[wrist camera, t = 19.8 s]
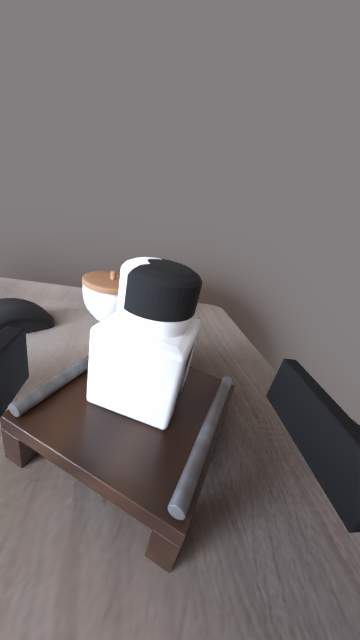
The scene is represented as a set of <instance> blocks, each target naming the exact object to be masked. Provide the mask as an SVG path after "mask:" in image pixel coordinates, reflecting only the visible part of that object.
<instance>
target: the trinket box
mask: <svg viewBox="0 0 360 640" xmlns="http://www.w3.org/2000/svg"><path fill="white" fill-rule="evenodd" d="M119 282H120V273H117V272H116V271H113V270H112V271H111V272H110V271H94V272H89V273H86V274H84V275H83V277H82V283H83V299H84V303H85V305H86V307H87V309H88V311H89V312H90V313H91V314H92V315H94V318H95V319H97V320H99V321H102V320H103V319H105V318H106V317H108V316H109V315H111V314H112V313H114V312H116V311H117V300H118V291H119Z"/></svg>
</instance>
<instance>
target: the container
mask: <svg viewBox="0 0 360 640" xmlns="http://www.w3.org/2000/svg"><path fill="white" fill-rule="evenodd" d="M201 286H202V280H201V278H200V276H199V275H198V274H197V273H196V272H194V271H193V270H192V269H191V268H189V267H187V266H185V265H182V264H180V263H177V262H173V261H170V260H165V259H160V258H153V257H138V258H135V259H131V260H128V261H126V262H125V263H124V264H123V265H122V266H121V272H120V282H119V291H118V300H117V311H116V312H114V313H112V314H111V315H109V316H108V317H106V318H105V319H103V320H102V321H100V322H99V323H97V324H96V325H94V326H93V327H92V328H91V330H90V345H89V362H88V380H87V397H86V398H87V401H89V402H91V403H93V404H96V405H99V406H101V407H104V408H106V409H109V410H112V411H114V412H117V413H120V414H122V415H125V416H127V417H130V418H133V419H135V420H138V421H140V422H143V423H146V424H148V425H151V426H153V427H156V428H159V429H161V430H165V429H166V428H167V427H168V424H169V422H170V419H171V417H172V414H173V411H174V409H175V406H176V404H177V401H178V398H179V396H180V393H181V391H182V388H183V385H184V383H185V380H186V377H187V374H188V370H189V366H190V363H191V359H192V356H193V352H194V349H195V345H196V341H197V338H198V334H199V331H200V327H201V321H200V320H198V319H195V318H193V317H194V313H195V309H196V306H197V302H198V298H199V294H200V290H201Z"/></svg>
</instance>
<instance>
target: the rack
mask: <svg viewBox="0 0 360 640" xmlns="http://www.w3.org/2000/svg"><path fill="white" fill-rule="evenodd" d="M88 362H89V355H88V356H87V357H85V358H83V359H82V360H80V361H79V362H77V363H75V364H74V365H72V366H71V367H69V368H67V369H66V370H64V371H62V372H61V373H59V374H58V375H56V376H54V377H53V378H51V379H50V380H48V381H46V382H45V383H43V384H42V385H40V386H38V387H37V388H35V389H33V390H32V391H30V392H29V393H27V394H25V395H24V396H22V397H21V398H19V399H17V400H16V401H14V402H13V403H11V404H9V409H8V410H7V411H5V412H4V413H3V414H2V416H1V417H0V423H1V428H2V436H3V442H4V449H5V455H6V457H7V458H9V459H10V460H11V461H13V462H14V463H16V464H17V465H18V466H20V467H21V468H22V467H23V466H25V465H26V464H27V463H28V462H29V461H30V460H31V459H32V458H34V457H35V456H36V455H37V454H38V453H39V454H41V455H42V456H44V457H45V458H47V459H48V460H50V461H51V462H53V463H54V464H56V465H57V466H58V467H60V468H61V469H63V470H64V471H66V472H67V473H69V474H70V475H72V476H73V477H75V478H76V479H78V480H79V481H81V482H82V483H84V484H85V485H87V486H88V487H90V488H91V489H93V490H94V491H96V492H97V493H99V494H100V495H102V496H103V497H105V498H106V499H108V500H109V501H111V502H112V503H114V504H115V505H117V506H118V507H120V508H121V509H123V510H124V511H126V512H127V513H129V514H130V515H132V516H133V517H135V518H136V519H138V520H139V521H141V522H142V523H144V524H145V525H146V526H148V527H149V528H151V529H152V530H153V531H152V534H151V537H150V540H149V544H148V547H147V550H146V553H145V556H146V557H148V558H149V559H150V560H152V561H153V562H155V563H156V564H157V565H159V566H160V567H162V568H163V569H164V570H166V571H167V572H169V573H170V572H171V570H172V568H173V565H174V563H175V561H176V558H177V556H178V554H179V551H180V549H181V547H182V544H183V542H184V540H185V538H186V535H187V532H188V529H189V526H190V523H191V519H192V516H193V513H194V510H195V507H196V504H197V501H198V498H199V495H200V491H201V488H202V485H203V482H204V479H205V476H206V473H207V470H208V467H209V463H210V460H211V457H212V454H213V451H214V448H215V445H216V442H217V439H218V435H219V432H220V429H221V426H222V423H223V420H224V417H225V414H226V411H227V407H228V404H229V401H230V398H231V395H232V392H233V389H234V385H232V379H231V378H230V377H229V376H224V377H223V378H222V380H220V379H218V378H216V377H213V376H211V375H209V374H206V373H204V372H202V371H199V370H197V369H195V368H192V367H190V366H189V370H188V374H187V377H186V380H185V383H184V385H183V388H182V391H181V393H180V396H179V398H178V401H177V404H176V406H175V409H174V411H173V414H172V417H171V419H170V422H169V424H168V427H167V428H166V429H165V430H161V429H159V428H156V427H153V426H151V425H148V424H146V423H143V422H140V421H138V420H135V419H133V418H130V417H127V416H125V415H122V414H120V413H117V412H114V411H112V410H109V409H106V408H104V407H101V406H99V405H96V404H93V403H91V402H89V401H87V398H86V397H87V380H88Z"/></svg>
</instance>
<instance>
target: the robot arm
mask: <svg viewBox="0 0 360 640" xmlns="http://www.w3.org/2000/svg"><path fill="white" fill-rule="evenodd" d="M28 377H29V372H28V359H27V346H26V333H25V328H18V327H10V326H6V327H4V328H3V329H2V330H1V331H0V417H1V416H2V414H3V413H4V412H5V410H6V409H7V407H8V406H9V404H10V403H11V402H12V400H13V399H14V397H15V396H16V394H17V393H18V391H19V390H20V389H21V387H22V386H23V384H24V383H25V381H26V380H27V379H28ZM266 396H267V398H268V400H269V401H270V403H271V404H272V406H273V408H274V409H275V411H276V413H277V414H278V416H279V418H280V419H281V421H282V423H283V424H284V426H285V428H286V429H287V431H288V433H289V434H290V436H291V437H292V439H293V441H294V442H295V444H296V446H297V447H298V449H299V451H300V452H301V454H302V456H303V457H304V459H305V461H306V462H307V464H308V465H309V467H310V469H311V470H312V472H313V474H314V475H315V477H316V479H317V480H318V482H319V484H320V485H321V487H322V489H323V490H324V492H325V493H326V495H327V497H328V498H329V500H330V502H331V503H332V505H333V507H334V508H335V510H336V512H337V513H338V515H339V517H340V518H341V520H342V522H343V523H344V525H345V526H346V528H347V530H348V531H349V533H352V532H360V425H358V424H357V423H356V422H354V421H353V420H352V419H351V418H350V417H348V415H347V414H346V413H345V412H344V411H343V410H342V409H341V408H340V407H339V405H338V404H337V403H336V402H335V401H334V400H333V399H332V398H331V397H330V396H329V395H328V394H327V393H326V392H325V391H324V389H323V388H321V386H320V385H319V384H318V383H317V382H316V381H315V380H314V379H313V378H312V377H311V376H310V374H309V373H308V372H307V371H306V370H305V369H304V368H303V367H302V366H301V365H300V364H299V363H298V362H297V361H296V360H291V359H284V360H283V362H282V364H281V366H280V368H279V370H278V372H277V374H276V377H275V379H274V381H273V383H272V385H271V387H270V389H269V391H268V393H267V395H266Z"/></svg>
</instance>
